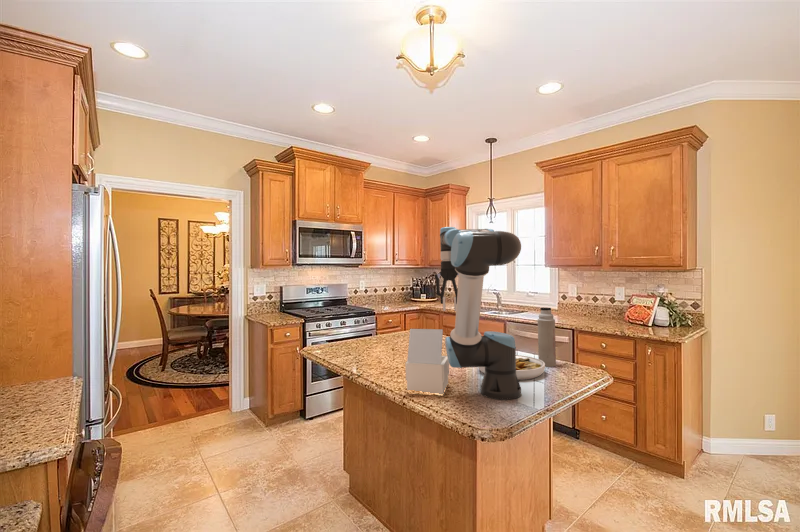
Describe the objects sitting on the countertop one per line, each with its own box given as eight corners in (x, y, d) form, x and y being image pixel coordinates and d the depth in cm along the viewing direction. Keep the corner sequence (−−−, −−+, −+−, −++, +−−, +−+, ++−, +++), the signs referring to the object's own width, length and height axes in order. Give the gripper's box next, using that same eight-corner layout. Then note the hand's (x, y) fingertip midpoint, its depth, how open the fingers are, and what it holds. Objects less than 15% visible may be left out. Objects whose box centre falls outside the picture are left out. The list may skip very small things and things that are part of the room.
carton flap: (410, 329, 154) (410, 328, 153) (442, 329, 150) (442, 329, 150) (407, 362, 148) (407, 362, 148) (441, 364, 145) (440, 363, 144)
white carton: (414, 382, 163) (413, 354, 163) (449, 384, 159) (449, 356, 159) (405, 393, 149) (405, 363, 149) (444, 396, 145) (443, 364, 145)
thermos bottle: (558, 364, 187) (556, 307, 187) (553, 367, 181) (552, 308, 181) (541, 362, 192) (540, 306, 192) (536, 365, 186) (535, 308, 186)
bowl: (535, 364, 189) (535, 348, 189) (553, 382, 160) (553, 363, 160) (474, 364, 192) (474, 348, 192) (481, 382, 163) (480, 363, 163)
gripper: (468, 260, 179) (469, 310, 178) (431, 261, 183) (432, 309, 183) (467, 260, 171) (468, 311, 171) (428, 261, 176) (429, 311, 176)
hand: (449, 310), depth 177 cm, fingers open, 4 cm apart
